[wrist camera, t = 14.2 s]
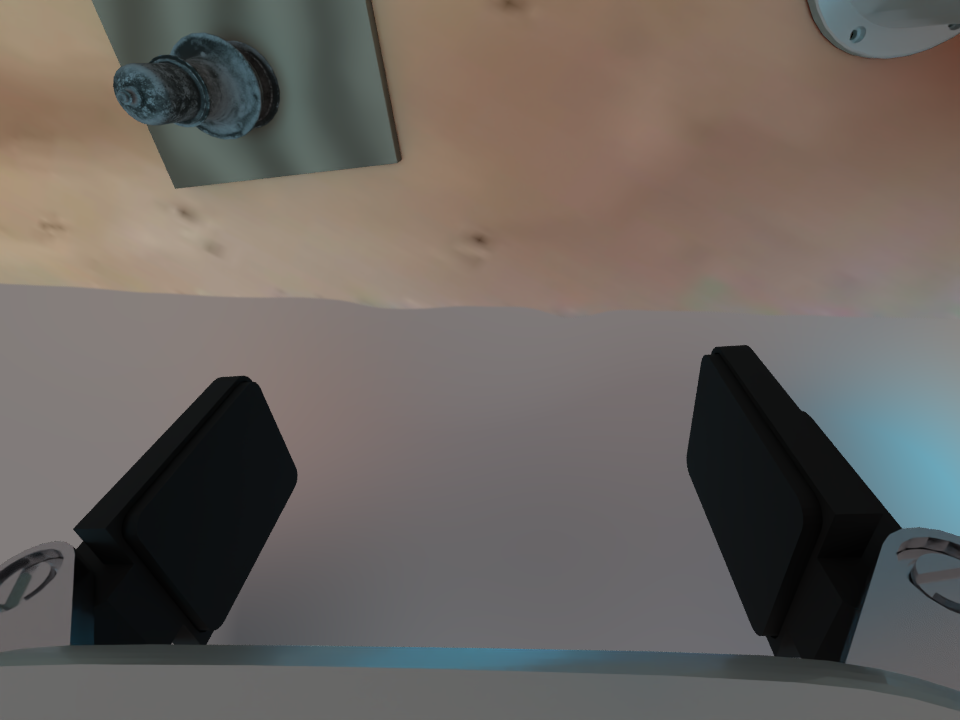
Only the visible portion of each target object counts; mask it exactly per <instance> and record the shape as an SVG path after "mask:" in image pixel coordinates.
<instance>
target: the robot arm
mask: <svg viewBox="0 0 960 720" xmlns="http://www.w3.org/2000/svg"><path fill="white" fill-rule="evenodd" d="M807 1H808V4H809V7H810V10H811V13H812V16H813V20H814V21H815V23H816V24H817V26H818V28H819V29H820V31H821V32H822V34H823V35H824V36H825V37H826V38H827V39H828V40H829V41H830V42H831V43H832V44H833V45H834V46H835V47H837V48H839V49H841V50H843V51H845V52H847V53H849V54H851V55H855V56H860V57H865V58H884V59H887V58H895V57H903V56H909V55H912V54H915V53H919V52H922V51H925V50H928V49H931V48H933V47H935V46H937V45H939V44H941V43H943V42H945V41H947V40H949V39H951V38H953V37H955V36H956V35H958V34H959V33H960V0H807ZM852 31H853V36H852V38H851V39H850V35H851V33H852ZM687 468H688V472H689V475H690V477H691V479H692V482H693V484H694V487H695V489H696V492H697V494H698V497H699V499H700V501H701V504H702V506H703V509H704V511H705V514H706V516H707V519H708V521H709V523H710V526H711V528H712V531H713V533H714V535H715V538H716V540H717V543H718V545H719V548H720V550H721V553H722V555H723V557H724V560H725V562H726V565H727V567H728V570H729V572H730V575H731V577H732V580H733V581H734V584H735V587H736V589H737V592H738V594H739V597H740V599H741V601H742V604H743V606H744V609H745V611H746V614H747V616H748V618H749V621H750V623H751V626H752V628H753V630H754V631H755V633H756V634H757V635H759V636H766V637H767V640H768V642H769V644H770V647H771V649H772V651H773V654H774V656H764V655H763V656H762V655H735V654H707V653H681V652H654V651H653V652H652V651H606V650H605V651H604V650H552V649H501V648H439V647H437V648H436V647H370V646H369V647H367V646H366V647H365V646H291V645H290V646H287V645H206V644H207V642H208V640H209V639H210V637H211V635H212V633H213V631H214V630H216V629H218V628H219V627H220V626H221V625H222V624H223V622H224V621H225V619H226V617H227V615H228V613H229V611H230V609H231V607H232V605H233V603H234V601H235V599H236V598H237V596H238V594H239V592H240V590H241V588H242V586H243V585H244V582H245V581H246V579H247V577H248V575H249V573H250V571H251V569H252V567H253V566H254V564H255V562H256V560H257V558H258V556H259V554H260V552H261V550H262V548H263V547H264V545H265V543H266V541H267V539H268V537H269V535H270V533H271V531H272V529H273V527H274V526H275V524H276V522H277V520H278V518H279V516H280V514H281V512H282V510H283V508H284V507H285V505H286V503H287V501H288V499H289V497H290V495H291V493H292V491H293V489H294V487H295V485H296V483H297V469H296V467H295V465H294V462H293V460H292V458H291V456H290V454H289V451H288V449H287V447H286V444H285V442H284V440H283V438H282V435H281V434H280V431H279V429H278V427H277V424H276V422H275V420H274V418H273V415H272V413H271V411H270V409H269V406H268V404H267V402H266V400H265V398H264V396H263V393H262V391H261V389H260V387H259V385H258V384H257V383H256V382H252V380H251V379H250V378H248V377H246V376H233V377H220V378H217V379H216V380H215V381H213V383H211V385H210V386H209V387H208V388H207V389H206V390H205V391H204V392H203V393H202V394H201V395H200V396H199V397H198V398H197V399H196V400H195V402H193V403H192V405H191V406H190V407H189V408H188V409H187V410H186V411H185V412H184V413H183V414H182V415H181V416H180V417H179V418H178V419H177V420H176V421H175V422H174V423H173V424H172V426H171V427H170V428H169V429H168V430H167V431H166V432H165V433H164V434H163V435H162V436H161V437H160V438H159V439H158V440H157V441H156V442H155V444H153V445H152V447H151V448H150V449H149V450H148V451H147V452H146V453H145V454H144V455H143V456H142V457H141V458H140V459H139V460H138V461H137V462H136V463H135V465H133V467H132V468H131V469H130V470H129V471H128V472H127V473H126V474H125V475H124V476H123V477H122V478H121V479H120V480H119V481H118V482H117V483H116V484H115V485H114V487H113V488H112V489H111V490H110V491H109V492H108V493H107V494H106V495H105V496H104V497H103V498H102V499H101V500H100V501H99V502H98V503H97V504H96V505H95V507H94V508H93V509H92V510H91V511H90V512H89V513H88V514H87V515H86V516H85V517H84V518H83V519H82V520H81V521H80V522H79V523H78V525H76V527H75V528H74V529H73V530H74V531H75V532H76V533H77V534H78V535H79V536H80V538H81V539H82V540H83V542H82V543H81V545H80V546H79V547H78V548H77V549H75V548H74V547H73V546H72V545H70V544H68V543H67V542H60V541H54V542H49V543H44V544H40V545H38V546H35V547H32V548H30V549H27V550H25V551H23V552H21V553H20V554H18V555H16V556H14V557H12V558H10V559H9V560H7V561H6V562H4V563H3V564H1V565H0V720H960V537H959V536H956V535H953V534H950V533H946V532H944V531H940V530H934V529H927V528H920V527H918V528H906V529H902V528H901V527H900V525H899V524H898V523H897V522H896V521H895V519H894V518H893V517H892V516H891V514H890V513H889V512H888V511H887V510H886V509H885V507H884V506H883V505H882V503H881V502H880V501H879V500H878V499H877V497H876V496H875V495H874V494H873V492H872V491H871V490H870V489H869V488H868V486H867V485H866V484H865V483H864V482H863V480H862V479H861V478H860V476H859V475H858V474H857V473H856V472H855V470H854V469H853V468H852V467H851V465H850V464H849V463H848V462H847V461H846V459H845V458H844V457H843V456H842V455H841V453H840V452H839V451H838V450H837V448H836V447H835V446H834V445H833V443H832V442H831V441H830V440H829V439H828V437H827V436H826V435H825V434H824V432H823V431H822V430H821V429H820V427H819V426H818V425H817V424H816V423H815V421H814V420H813V419H812V418H811V417H810V416H809V415H808V414H807V413H806V412H804V411H801V410H800V409H799V407H798V406H797V405H796V404H795V403H794V401H793V400H792V399H791V398H790V396H789V395H788V394H787V393H786V391H785V390H784V389H783V388H782V386H781V385H780V384H779V383H778V381H777V380H776V379H775V378H774V376H773V375H772V374H771V373H770V372H769V370H768V369H767V368H766V366H765V365H764V364H763V363H762V361H761V360H760V359H759V358H758V356H757V355H756V354H755V353H754V351H753V350H752V349H751V348H750V347H749V346H747V345H740V346H724V347H715V348H714V349H713V351H712V353H711V355H704V356H703V358H702V362H701V367H700V374H699V381H698V387H697V393H696V400H695V406H694V412H693V418H692V426H691V432H690V438H689V444H688V451H687ZM172 642H173V644H174V645H171V643H172Z"/></svg>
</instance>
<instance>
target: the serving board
mask: <svg viewBox="0 0 960 720" xmlns="http://www.w3.org/2000/svg"><path fill="white" fill-rule="evenodd" d="M92 2H93V4H94V6H95V9H96V11H97V13H98V15H99V18H100V20H101V22H102V25H103V27H104V29H105V31H106V34H107V36H108V38H109V40H110V43H111V45H112V47H113V49H114V52H115V54H116V56H117V58H118V61H119V63H120V65H121V67H122V66H124V65H127V64H129V63H149V62H150V61H151V60H152V59H153V58H155V57H157V56H159V55H170V53H171V51H172V48H173V46H174V45H175V44H176V43H177V42H178V41H179V40H180V39H181V38H182V37H185V36H187V35H189V34H191V33H208V34H212V35H216V36H219V37H220V38H222V39H224V40H226V41H238V42H242V43H246V44H247V45H249V46H251V47H253V48H254V49H256V50H257V51H258V52H259V53H260V54H261V55H262V56H264V57H265V59H266V60H267V61H268V63H269V64H270V66H271V67H272V69H273V71H274V73H275V75H276V78H277V81H278V85H279V89H280V103H279V107H278V111H277V113H276V115H275V116H274V118H273V119H272V120H271V121H270V122H269V123H268V124H266V125H264V126H262V127H259V128H253V129H252V130H251V131H250V132H249V133H248V134H246V135H245V136H242V137H240V138H237V139H225V140H224V139H220V138H216V137H212V136H210V135H208V134H206V133H204V132H202V131H201V130H199V129H198V128H197V127H196V126H195V127H182V126H178V125H176V124H174V123H170V124H164V125H148V124H147V126H148V128H149V131H150V133H151V135H152V137H153V140H154V142H155V144H156V146H157V149H158V151H159V153H160V155H161V158H162V160H163V162H164V164H165V167H166V169H167V171H168V173H169V176H170V178H171V180H172V183H173V185H174V187H175V189H176V188H185V187H194V186H202V185H211V184H220V183H228V182H237V181H246V180H254V179H263V178H272V177H280V176H289V175H298V174H306V173H315V172H324V171H332V170H341V169H350V168H358V167H367V166H376V165H384V164H393V163H398V162H399V161H400V160H401V154H400V149H399V143H398V138H397V133H396V128H395V122H394V117H393V112H392V107H391V102H390V96H389V91H388V86H387V81H386V75H385V70H384V65H383V60H382V55H381V49H380V44H379V39H378V34H377V28H376V23H375V18H374V13H373V8H372V2H371V0H92Z"/></svg>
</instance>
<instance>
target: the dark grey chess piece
mask: <svg viewBox="0 0 960 720" xmlns="http://www.w3.org/2000/svg"><path fill="white" fill-rule="evenodd" d="M113 87H114V92H115V95H116V98H117V100H118V102H119V103H120V105H121V106H122V107H123V109H124V110H125V111H126V112H127V113H128V114H129V115H130V116H132V117H133V118H134V119H135V120H137V121H139V122H141V123H144V124H148V125H164V124H170V123H174V124H176V125H178V126H182V127H195V126H196V127H197V128H198V129H199V130H201V131H202V132H204V133H206V134H208V135H210V136H212V137H216V138H220V139H224V140H225V139H237V138H240V137H242V136H245V135H246V134H248V133H249V132H250V131H251V130H252V129H253V128H259V127H262V126H264V125H266V124H268V123H269V122H270V121H271V120H272V119H273V118H274V116H275V115H276V113H277V111H278V107H279V103H280V89H279V85H278V81H277V78H276V75H275V73H274V71H273V69H272V67H271V66H270V64H269V63H268V61H267V60H266V59H265V57H264V56H262V55H261V54H260V53H259V52H258V51H257V50H256V49H254V48H253V47H251V46H249V45H247V44H246V43H242V42H238V41H226V40H224V39H222V38H220V37H219V36H216V35H212V34H208V33H191V34H189V35H187V36H185V37H182V38H181V39H180V40H179V41H178V42H177V43H176V44H175V45H174V46H173V48H172V51H171V53H170V55H159V56H157V57H155V58H153V59H152V60H151V61H150V62H149V63H129V64H127V65H124V66H122V67H120V68H119V69H118V70H117V71H116V73H115V76H114V83H113Z"/></svg>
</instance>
